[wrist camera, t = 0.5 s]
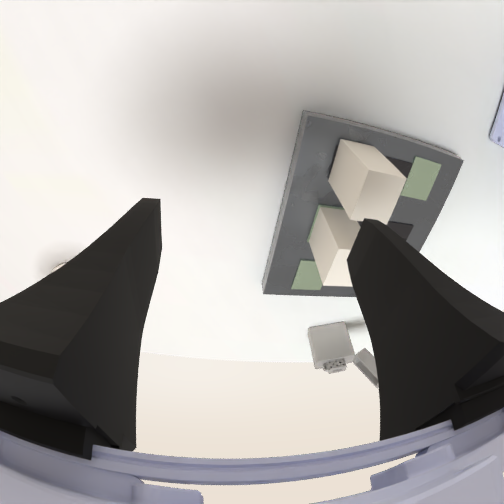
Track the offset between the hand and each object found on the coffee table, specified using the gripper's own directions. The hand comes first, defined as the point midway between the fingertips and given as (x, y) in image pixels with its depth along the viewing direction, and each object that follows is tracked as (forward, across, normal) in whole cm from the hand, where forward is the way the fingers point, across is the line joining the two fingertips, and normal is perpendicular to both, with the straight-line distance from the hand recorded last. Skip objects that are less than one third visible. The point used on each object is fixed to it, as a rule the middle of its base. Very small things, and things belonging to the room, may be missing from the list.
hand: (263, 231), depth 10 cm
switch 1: (+9, -7, +5) cm, 12 cm away
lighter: (+10, -13, +19) cm, 25 cm away
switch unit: (+10, -10, +5) cm, 15 cm away
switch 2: (+9, -7, 0) cm, 11 cm away
